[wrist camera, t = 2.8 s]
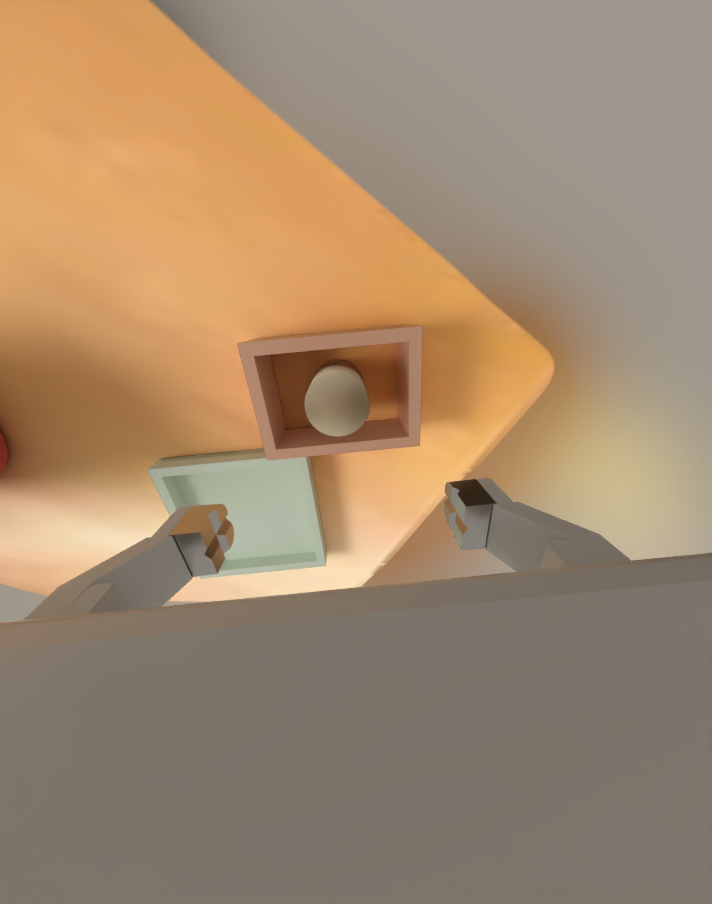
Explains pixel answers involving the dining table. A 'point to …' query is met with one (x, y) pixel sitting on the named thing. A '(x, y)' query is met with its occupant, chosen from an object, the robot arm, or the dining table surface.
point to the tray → (251, 506)
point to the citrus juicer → (3, 453)
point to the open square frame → (309, 438)
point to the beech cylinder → (337, 399)
